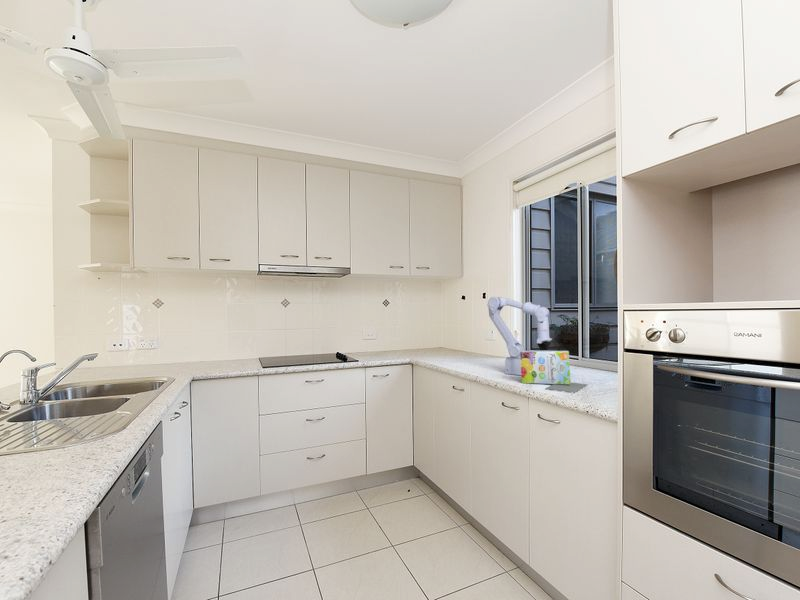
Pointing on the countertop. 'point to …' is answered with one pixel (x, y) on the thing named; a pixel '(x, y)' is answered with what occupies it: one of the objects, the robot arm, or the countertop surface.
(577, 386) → the mat
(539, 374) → the snack box
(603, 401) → the countertop surface
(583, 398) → the countertop surface
